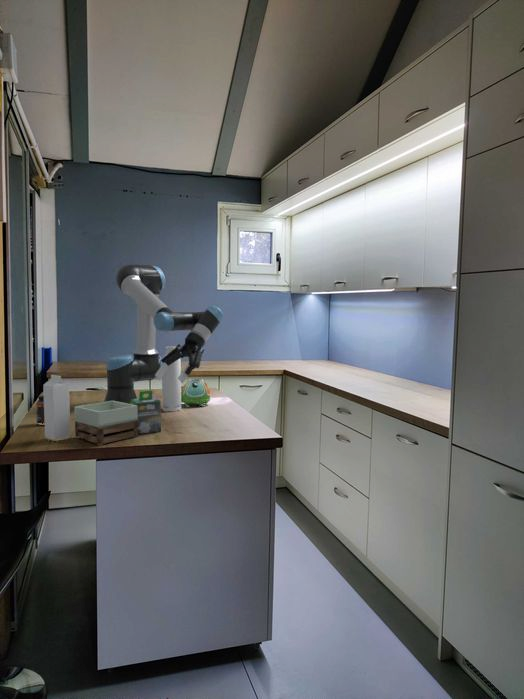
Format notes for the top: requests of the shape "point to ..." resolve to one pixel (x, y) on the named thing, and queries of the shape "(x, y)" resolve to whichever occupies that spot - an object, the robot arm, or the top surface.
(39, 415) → the supplement bottle
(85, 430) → the lower crate
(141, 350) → the robot arm
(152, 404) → the chalk box
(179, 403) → the bottle
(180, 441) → the top surface
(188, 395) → the turtle holder
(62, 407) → the milk
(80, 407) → the box
